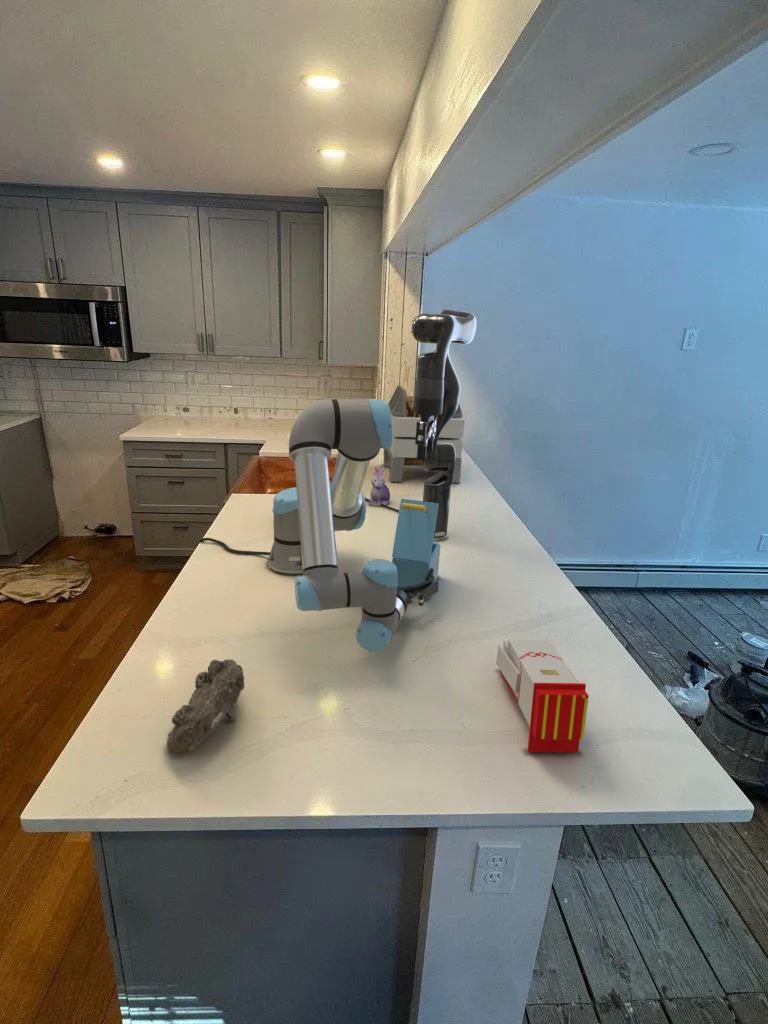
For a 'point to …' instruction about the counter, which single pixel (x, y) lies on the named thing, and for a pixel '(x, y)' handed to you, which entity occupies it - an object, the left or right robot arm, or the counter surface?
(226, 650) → the counter surface
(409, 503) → the lid
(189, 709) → the fossil
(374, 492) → the figurine
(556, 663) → the toy
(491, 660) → the counter surface
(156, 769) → the counter surface
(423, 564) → the chest
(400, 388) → the grey wooden crate
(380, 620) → the left robot arm
